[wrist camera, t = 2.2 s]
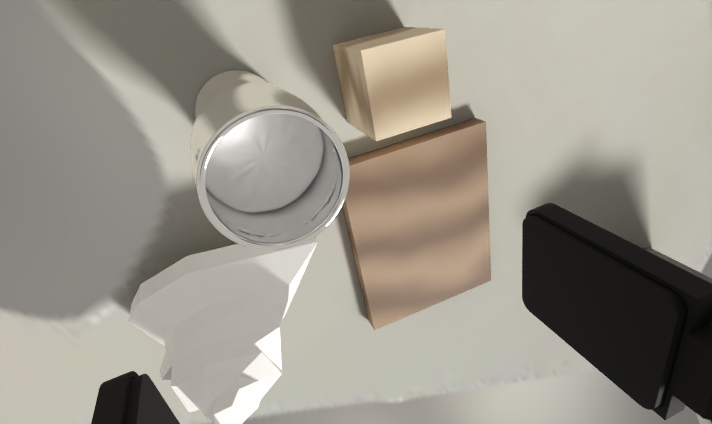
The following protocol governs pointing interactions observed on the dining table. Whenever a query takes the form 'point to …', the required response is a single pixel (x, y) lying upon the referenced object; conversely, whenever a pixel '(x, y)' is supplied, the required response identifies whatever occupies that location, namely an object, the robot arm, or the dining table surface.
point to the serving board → (420, 220)
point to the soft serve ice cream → (221, 324)
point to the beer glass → (265, 163)
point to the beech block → (394, 80)
